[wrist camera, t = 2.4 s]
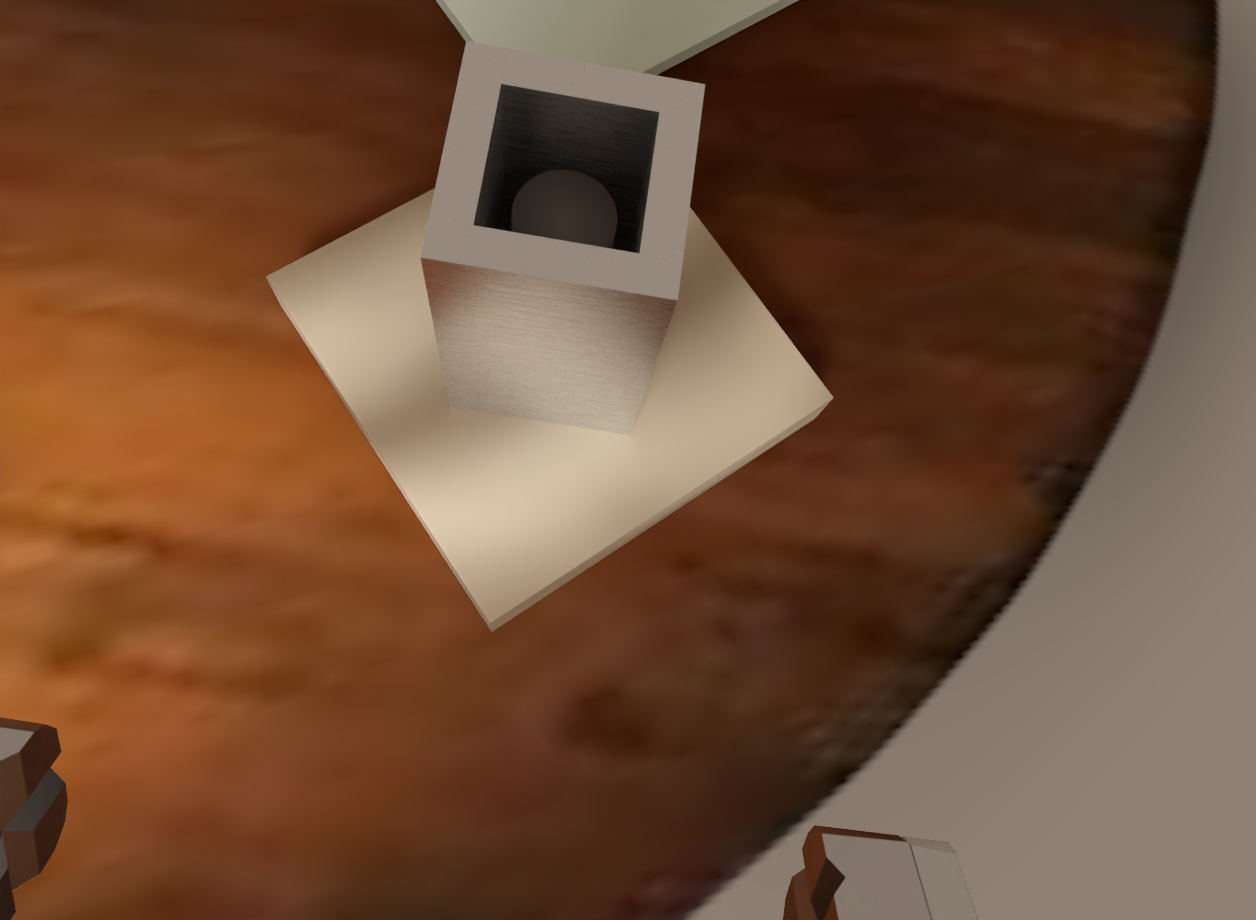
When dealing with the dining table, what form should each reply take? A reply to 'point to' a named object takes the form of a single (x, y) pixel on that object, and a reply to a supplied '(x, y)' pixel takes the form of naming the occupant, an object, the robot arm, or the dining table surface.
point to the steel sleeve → (549, 268)
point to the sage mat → (608, 27)
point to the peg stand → (535, 450)
